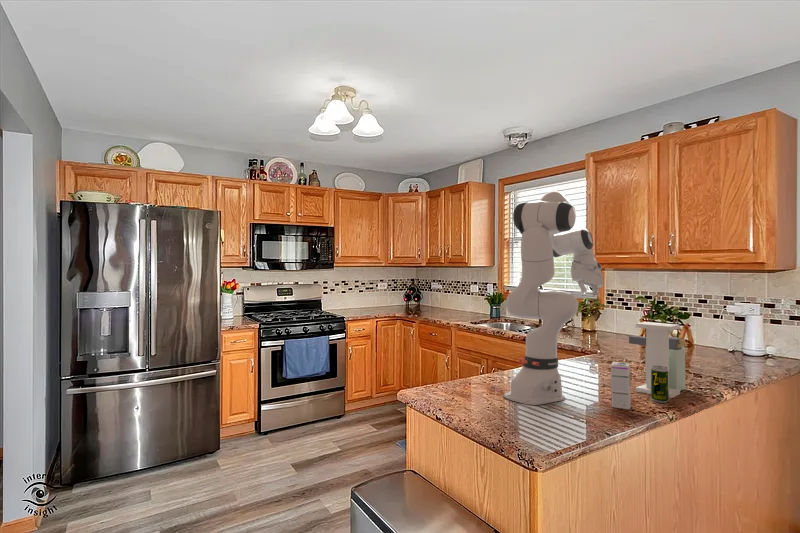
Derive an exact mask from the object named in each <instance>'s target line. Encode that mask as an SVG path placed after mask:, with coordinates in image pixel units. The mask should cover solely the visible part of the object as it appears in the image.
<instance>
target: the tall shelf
mask: <svg viewBox="0 0 800 533" xmlns="http://www.w3.org/2000/svg"><path fill="white" fill-rule="evenodd" d="M635 328H639V329H645V337H646V346H645V347H646V354H645V383H644V384H642V385H639V386H636V387H635V392H636V393H637V392H638V393H642V394H648V395H651V368H652V366H664V367H667V368H668V378H669V337H670V335H669V334H670V332H669V331H675V330H680V328H681V326H680V324H676V323H675V324H674V323H663V322H651V321H650V322H649V321H643V322H637V323H636V322H635ZM680 395H681V391H680V390H677V389H671V388H669V399H672V398H675V397H677V396H680Z"/></svg>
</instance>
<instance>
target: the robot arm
mask: <svg viewBox="0 0 800 533" xmlns="http://www.w3.org/2000/svg"><path fill="white" fill-rule="evenodd" d="M576 214H577V213H576V209H575V207H574V206H573V204H572V203H571V201H570V200H569V199H568V198H567V196H565V195H564V194H563V193H561V192H560V191H556V190H552V191H548V192H547V193H545V194H544V195H543V196H542V197H541V198H540V200H539V201H538V200H537V201H530V202H528V201H524V202H521V203H518V204H517V205H516V206H515V208H514V210H513V216H512V221H513V224H514V226H515V228H516V229H517V230H518V231H519V233H520V234H521V240H520V256H521V259H520V260H521V278H520V281H519V284H518V285H517V287H516V288H515V289H514V290H512V291H511V292H510V293H509V294H508V295H507V297H506V301H505V308H506V309H507V311H508V313H509V314H510V315H511V316H512V317H516V318H521V319H531V320H542V323H541V326H538V327H537V328H533V329H531V330H530V331H528V333H526V336H525V355H524V357H523V358H522V357H519V358H518V363H519V364H521V365H522V367H521V368H520V370H519V371H518V373H517V374H516V375H515V376H514V377H513V378H512V380H511V383H510V391H508V392H505V393H504V394H503V397H504V398H505V399H507V400H510V401H513V402H517V403H521V404H524V405H531V406H539V405H545V404H550V403H556V402H561V401H565V400H566V396H565V395H564V394H563V388H562V387H563V386H562V376H561V374H560V373H559V370H558V367H559V357H558V342H559V341H558V339H559V335H560V332H561V330H562V328H563V327H564V326H565V325H566V323H568V322H569V321H570V320H572V319H573V318H574V317H575V316H576V315H577V313H578V310H579V301H578V299H577V297H576V296H575V295H574V293H573V292H569V291H566V290H565V291H564V290H559V289H558V290H557V289H540V288H539V287H541V286H542V285H545V284H547V283H549V282H550V281H551V280H552V279H553V278H554V276H555V262H554V261H555V258H559V257H562V256H567V255H569V254H573V256H572V258H573V259H572V262H571V265H570V274H571V280H572V281H574V282H576V283H577V284H578V286H579V288H580V292H581V293H587V288H586V286H588V287H590V288H592V296H593V297H598V296H599V288H602V287H603V286H604V279H603V278H604V277H603V273H602V271H601V270H602V265H601V264H600V263H599V262H598V261H597V259H596V257H595V254H594V251H593V248H594V245H595V244H594V240H593V235H592V234H591V232H590V231H589V229H587V228H584V227H577V228H574V229H572V228H573V227H574V226H575V222H576V219H577V218H576V217H577V215H576Z"/></svg>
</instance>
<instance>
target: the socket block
mask: <svg viewBox="0 0 800 533" xmlns="http://www.w3.org/2000/svg"><path fill="white" fill-rule="evenodd" d="M645 355H646V346H645ZM669 388H671V389H677V390H680V392H682V391H684V390H686V347H684V348H681V349H678V350H673V349H669ZM681 390H682V391H681Z"/></svg>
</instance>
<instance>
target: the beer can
mask: <svg viewBox="0 0 800 533" xmlns="http://www.w3.org/2000/svg"><path fill="white" fill-rule="evenodd" d="M650 398H651V400H653V402H655V403H660V404H667V403H669V399H670V398H669V378H668V368H667V367H664V366H652V368H651V394H650Z"/></svg>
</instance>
